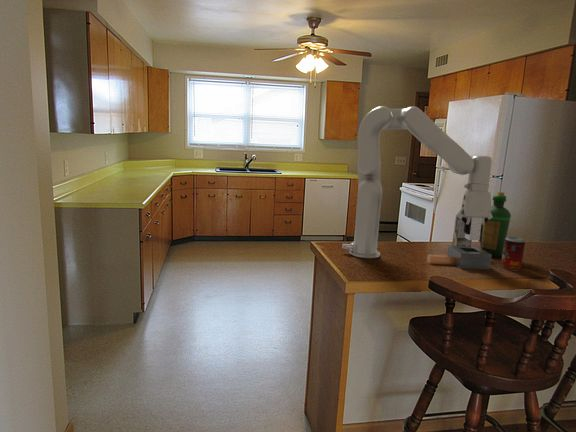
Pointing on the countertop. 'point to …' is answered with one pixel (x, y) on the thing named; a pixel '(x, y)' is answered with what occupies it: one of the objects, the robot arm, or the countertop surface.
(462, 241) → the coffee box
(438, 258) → the bracket head
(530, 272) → the countertop surface
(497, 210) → the bottle
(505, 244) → the soda can
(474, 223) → the steel wedge
